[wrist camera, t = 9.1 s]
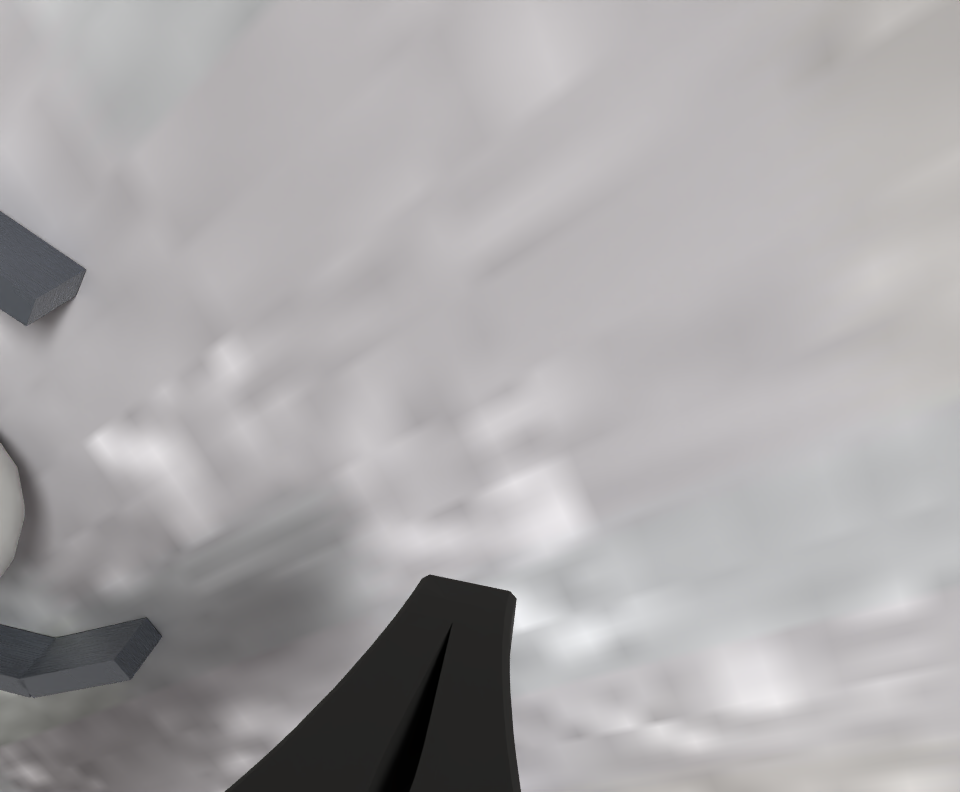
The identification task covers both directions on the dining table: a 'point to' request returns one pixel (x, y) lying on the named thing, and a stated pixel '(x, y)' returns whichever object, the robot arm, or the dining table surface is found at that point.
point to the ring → (95, 653)
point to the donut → (9, 510)
